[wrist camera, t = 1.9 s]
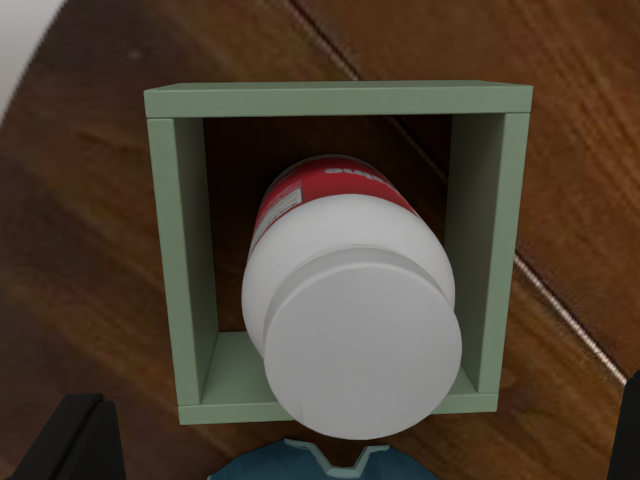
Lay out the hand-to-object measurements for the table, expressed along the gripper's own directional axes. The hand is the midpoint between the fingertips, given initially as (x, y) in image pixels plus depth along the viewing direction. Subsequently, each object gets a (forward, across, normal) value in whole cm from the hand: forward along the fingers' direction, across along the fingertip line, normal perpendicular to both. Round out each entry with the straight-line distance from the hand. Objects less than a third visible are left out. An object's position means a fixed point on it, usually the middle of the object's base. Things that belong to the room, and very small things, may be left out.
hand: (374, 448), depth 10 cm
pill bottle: (+14, 0, 0) cm, 14 cm away
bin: (+14, 0, 0) cm, 14 cm away
